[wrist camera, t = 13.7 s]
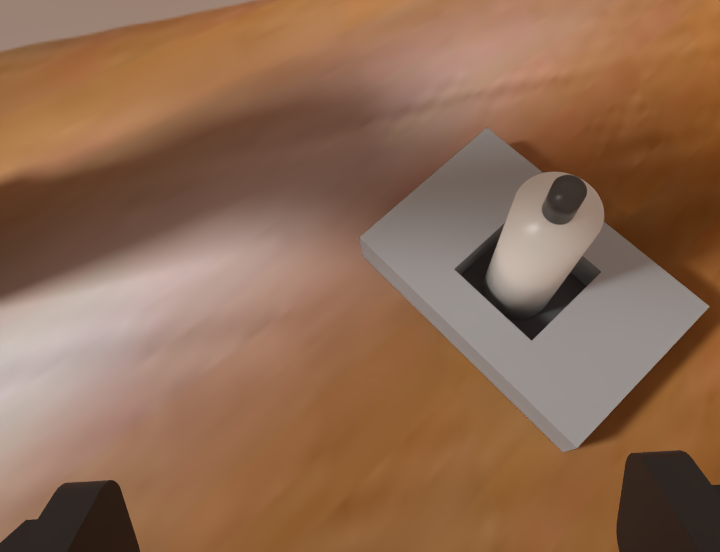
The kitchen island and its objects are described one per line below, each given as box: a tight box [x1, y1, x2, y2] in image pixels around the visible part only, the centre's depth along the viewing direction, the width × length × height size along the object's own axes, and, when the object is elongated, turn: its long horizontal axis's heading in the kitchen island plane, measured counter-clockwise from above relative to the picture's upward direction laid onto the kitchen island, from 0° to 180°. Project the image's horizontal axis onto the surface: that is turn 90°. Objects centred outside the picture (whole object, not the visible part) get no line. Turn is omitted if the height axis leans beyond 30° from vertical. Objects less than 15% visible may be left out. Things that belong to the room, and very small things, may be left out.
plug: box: [483, 172, 604, 319], centre depth 33 cm, size 4×4×13 cm
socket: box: [359, 128, 710, 452], centre depth 38 cm, size 18×12×3 cm, turn 43°
